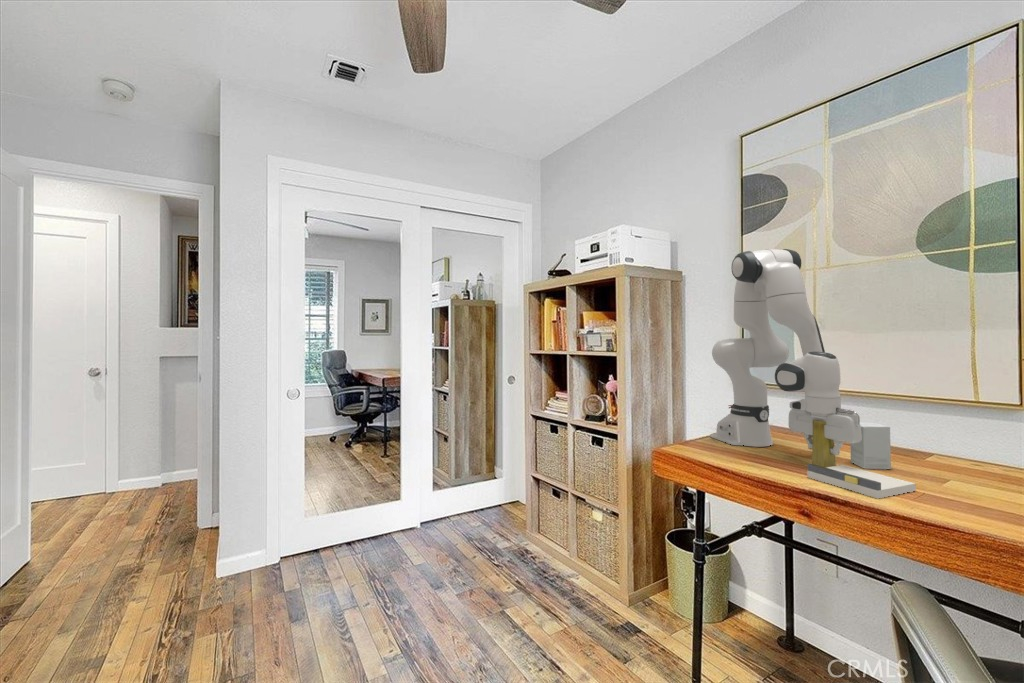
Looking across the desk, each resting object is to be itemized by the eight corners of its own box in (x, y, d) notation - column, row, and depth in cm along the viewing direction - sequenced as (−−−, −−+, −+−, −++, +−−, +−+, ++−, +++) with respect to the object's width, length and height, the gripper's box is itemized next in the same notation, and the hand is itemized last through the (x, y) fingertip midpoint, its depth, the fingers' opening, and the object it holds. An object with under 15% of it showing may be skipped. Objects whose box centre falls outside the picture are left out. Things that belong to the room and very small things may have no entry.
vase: (837, 471, 130) (836, 422, 130) (811, 468, 133) (811, 421, 133) (835, 466, 135) (834, 419, 135) (810, 463, 138) (810, 417, 138)
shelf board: (806, 477, 125) (806, 464, 125) (842, 471, 130) (842, 458, 130) (876, 499, 108) (876, 483, 108) (915, 491, 113) (915, 476, 113)
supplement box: (892, 470, 131) (891, 426, 130) (863, 469, 132) (862, 426, 132) (876, 463, 138) (876, 422, 138) (849, 462, 139) (849, 421, 139)
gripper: (867, 410, 125) (867, 459, 125) (799, 401, 145) (800, 443, 145) (851, 411, 123) (851, 461, 123) (784, 402, 143) (785, 445, 143)
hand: (823, 451), depth 134 cm, fingers closed on vase, 5 cm apart
